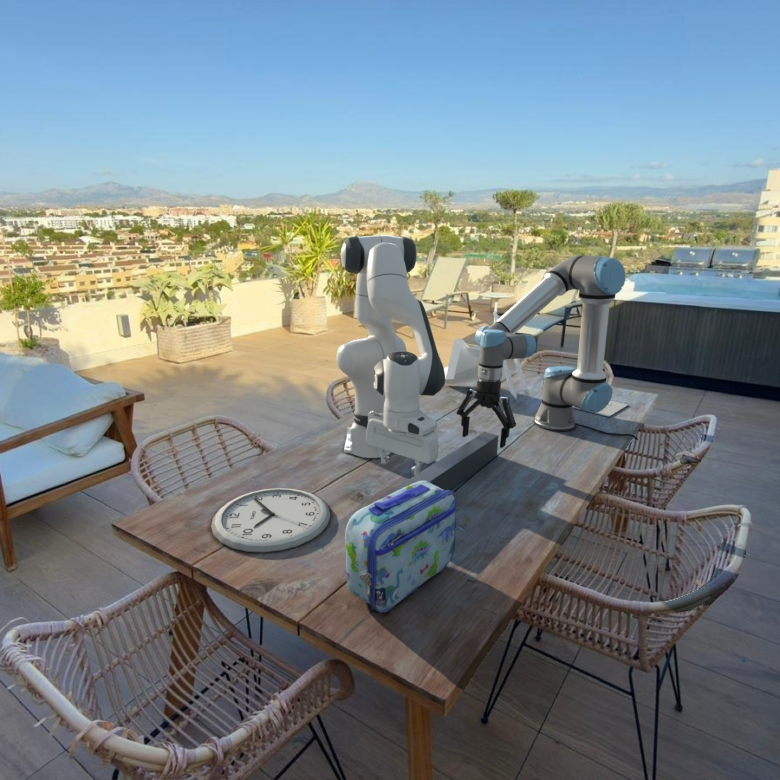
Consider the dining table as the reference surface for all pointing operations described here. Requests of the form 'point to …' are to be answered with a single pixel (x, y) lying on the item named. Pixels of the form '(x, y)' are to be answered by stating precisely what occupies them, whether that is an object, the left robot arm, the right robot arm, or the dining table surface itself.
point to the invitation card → (610, 408)
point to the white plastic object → (476, 366)
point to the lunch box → (399, 543)
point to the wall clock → (270, 520)
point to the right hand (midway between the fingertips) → (483, 441)
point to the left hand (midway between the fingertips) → (400, 469)
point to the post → (457, 463)
